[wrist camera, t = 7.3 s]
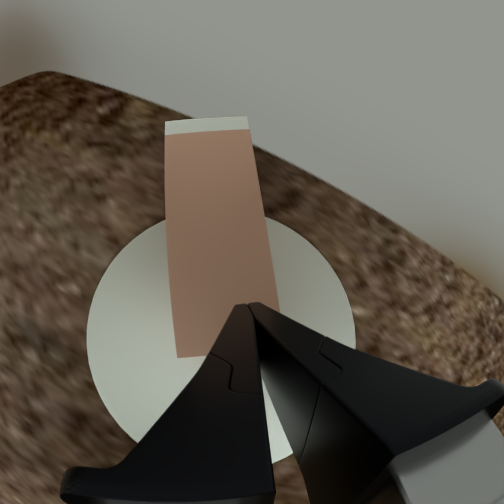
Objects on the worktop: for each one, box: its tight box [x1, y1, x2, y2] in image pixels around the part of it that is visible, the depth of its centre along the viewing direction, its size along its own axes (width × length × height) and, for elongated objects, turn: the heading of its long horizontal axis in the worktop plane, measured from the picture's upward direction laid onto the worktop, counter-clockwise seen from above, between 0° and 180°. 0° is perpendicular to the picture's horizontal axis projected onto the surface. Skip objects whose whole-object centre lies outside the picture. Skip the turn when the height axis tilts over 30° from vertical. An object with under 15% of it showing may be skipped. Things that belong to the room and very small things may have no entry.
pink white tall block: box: [165, 116, 280, 358], centre depth 16 cm, size 4×4×12 cm
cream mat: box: [87, 217, 356, 463], centre depth 17 cm, size 16×16×1 cm
